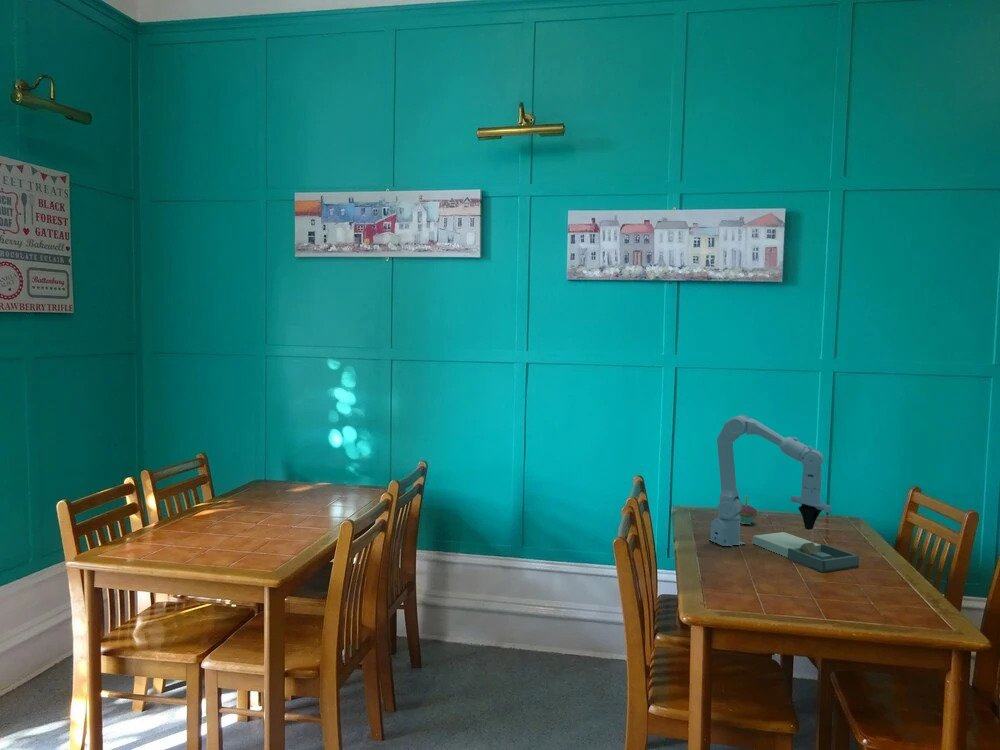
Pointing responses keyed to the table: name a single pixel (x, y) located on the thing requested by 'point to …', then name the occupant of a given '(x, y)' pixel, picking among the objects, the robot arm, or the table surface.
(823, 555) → the tile
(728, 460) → the robot arm
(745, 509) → the cupcake
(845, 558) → the bin
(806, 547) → the tile
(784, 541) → the large sage green panel
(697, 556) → the table surface
